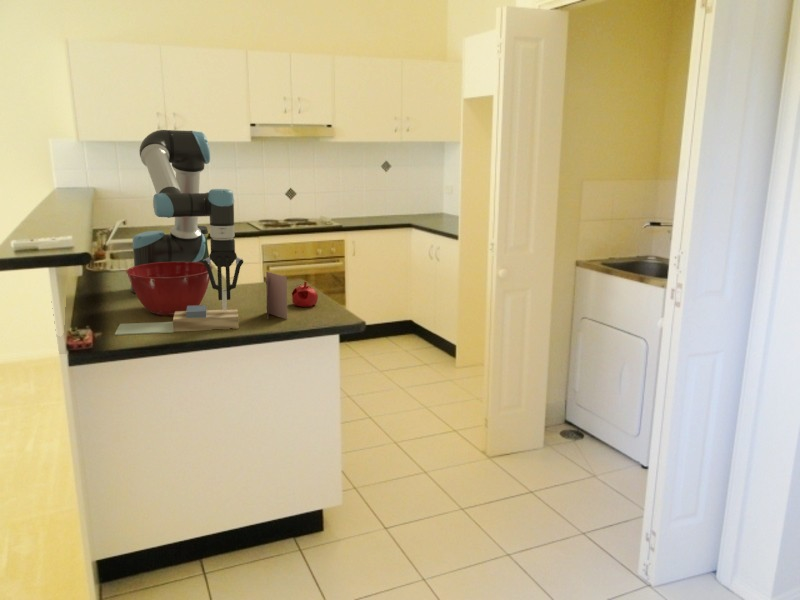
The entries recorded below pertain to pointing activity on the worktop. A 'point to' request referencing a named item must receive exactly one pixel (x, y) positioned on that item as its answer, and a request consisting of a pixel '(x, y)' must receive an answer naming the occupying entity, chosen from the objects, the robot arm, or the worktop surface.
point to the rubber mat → (145, 328)
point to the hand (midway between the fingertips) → (224, 309)
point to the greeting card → (276, 295)
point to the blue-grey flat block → (196, 311)
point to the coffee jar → (205, 233)
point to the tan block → (206, 320)
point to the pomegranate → (304, 296)
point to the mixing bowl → (169, 285)
